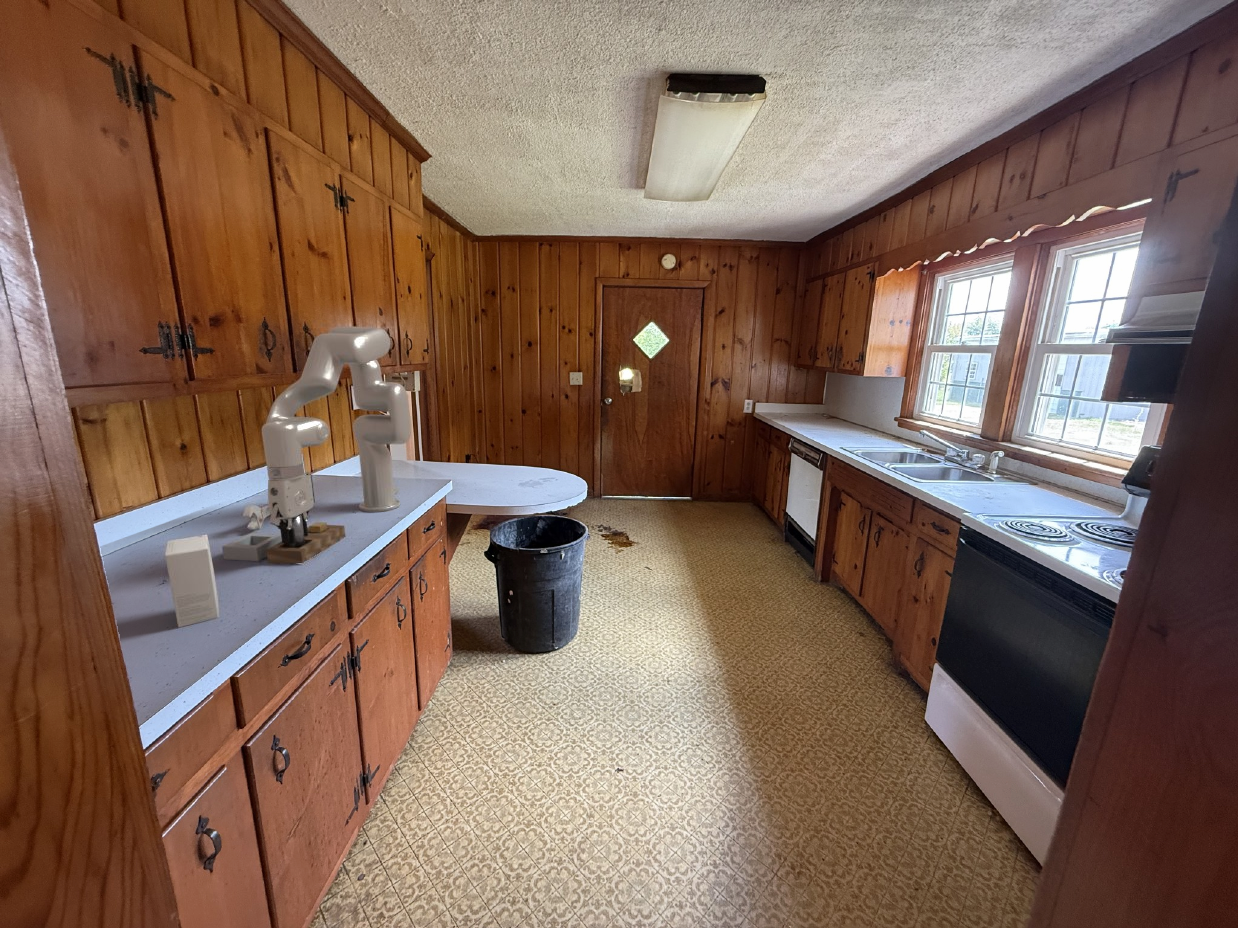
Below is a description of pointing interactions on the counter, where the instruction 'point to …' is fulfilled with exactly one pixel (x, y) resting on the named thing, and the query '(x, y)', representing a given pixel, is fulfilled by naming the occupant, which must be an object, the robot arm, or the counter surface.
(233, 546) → the holder
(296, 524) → the grey metal rounded cylinder
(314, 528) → the tan square peg
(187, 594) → the skincare box
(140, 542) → the counter surface
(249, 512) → the wrench
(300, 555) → the socket block
